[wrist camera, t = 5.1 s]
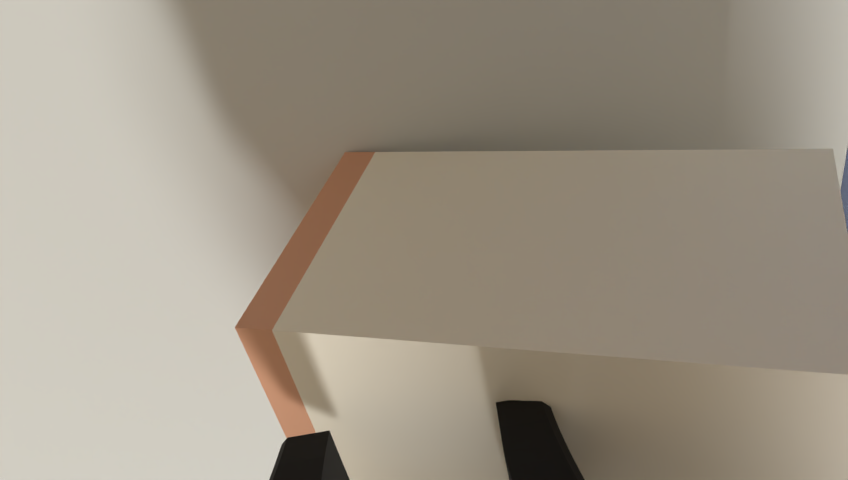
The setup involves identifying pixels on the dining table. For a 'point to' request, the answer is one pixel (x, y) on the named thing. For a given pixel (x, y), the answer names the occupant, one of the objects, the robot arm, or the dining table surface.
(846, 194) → the dining table surface
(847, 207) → the dining table surface
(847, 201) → the dining table surface
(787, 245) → the block
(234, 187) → the mat
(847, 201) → the dining table surface
